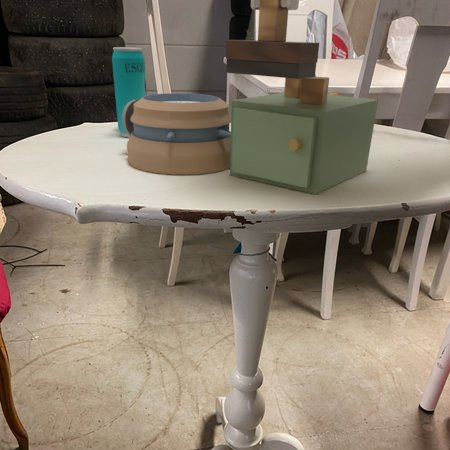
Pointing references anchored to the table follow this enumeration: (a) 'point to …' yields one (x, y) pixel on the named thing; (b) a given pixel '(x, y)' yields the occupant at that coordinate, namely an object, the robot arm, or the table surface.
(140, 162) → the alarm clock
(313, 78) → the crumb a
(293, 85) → the wooden toy block
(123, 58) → the beverage can
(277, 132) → the cabinet
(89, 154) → the table surface
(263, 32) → the brush
